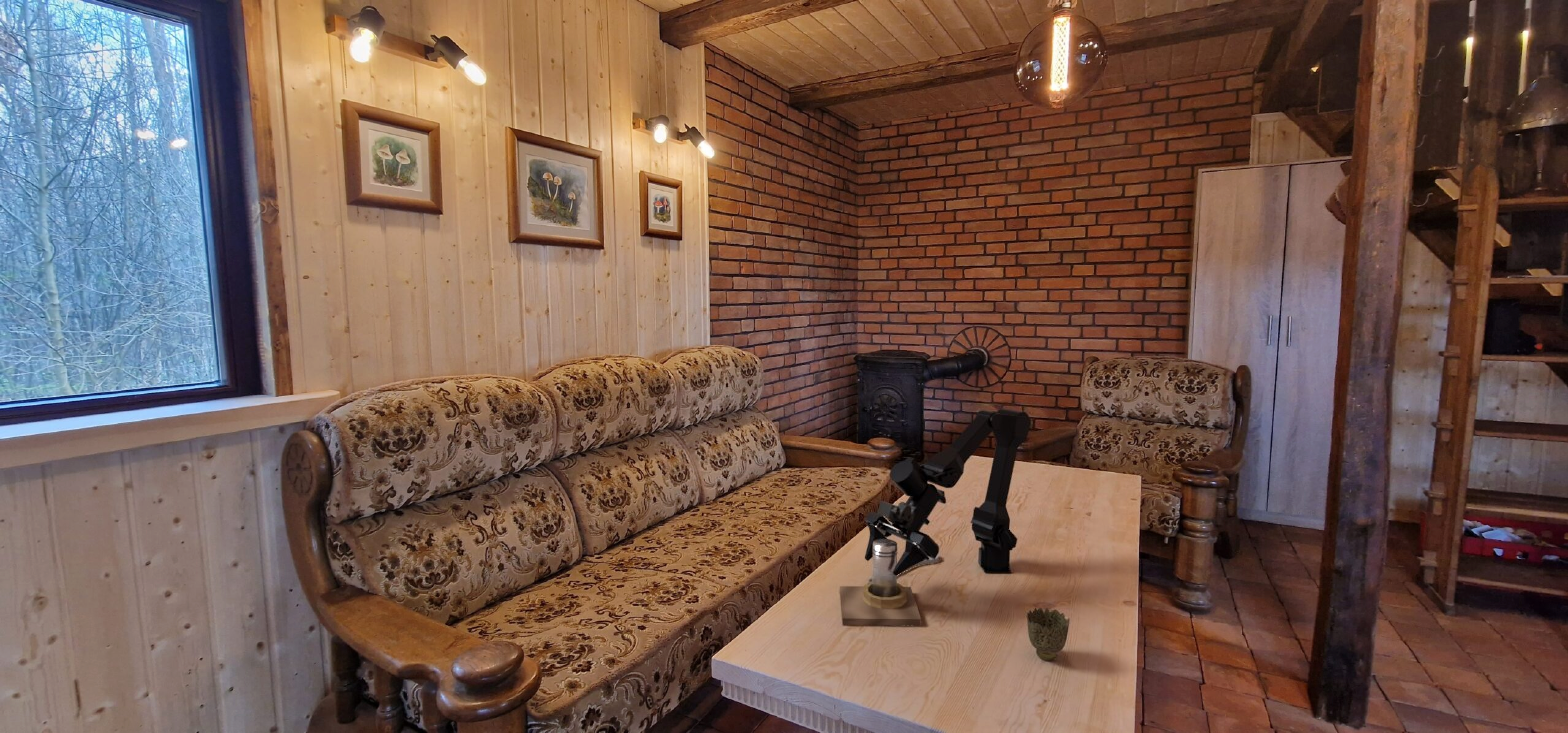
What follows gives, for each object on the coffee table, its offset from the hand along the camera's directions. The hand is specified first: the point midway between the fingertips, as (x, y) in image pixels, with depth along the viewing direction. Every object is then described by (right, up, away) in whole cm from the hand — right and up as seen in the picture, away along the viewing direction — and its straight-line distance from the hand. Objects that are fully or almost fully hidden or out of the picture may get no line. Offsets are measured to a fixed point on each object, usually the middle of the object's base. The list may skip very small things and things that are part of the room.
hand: (879, 566), depth 145 cm
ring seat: (0, -9, 0) cm, 9 cm away
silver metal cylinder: (+1, -7, +2) cm, 8 cm away
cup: (+28, -11, -19) cm, 36 cm away
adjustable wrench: (+8, -7, +20) cm, 23 cm away
